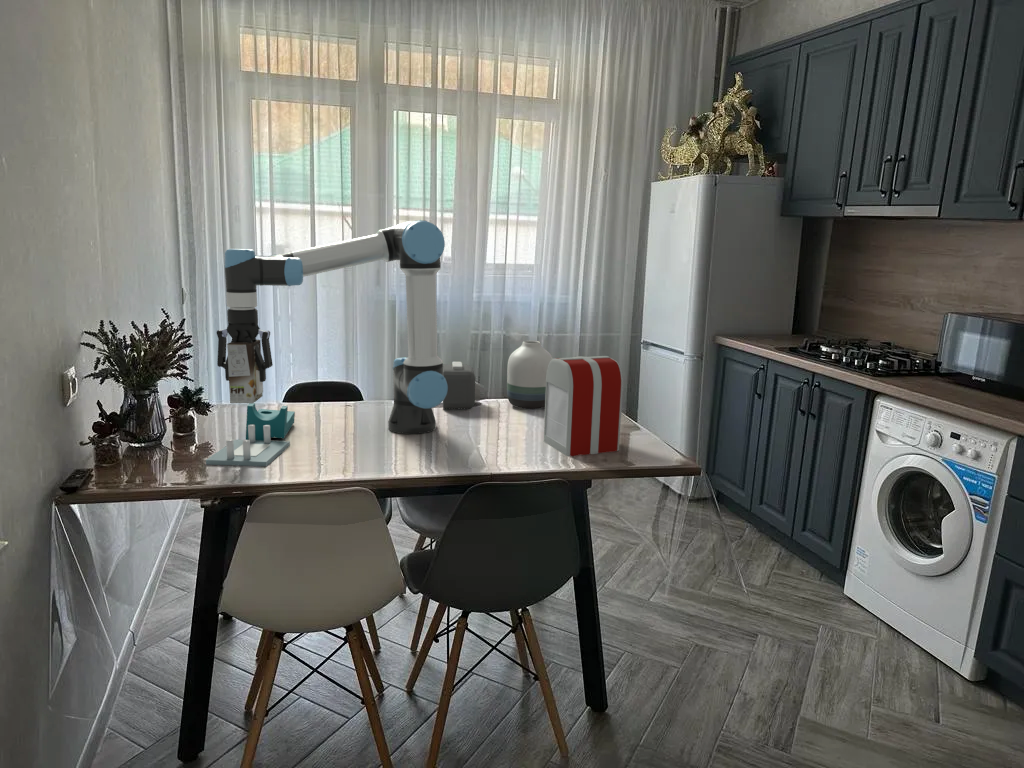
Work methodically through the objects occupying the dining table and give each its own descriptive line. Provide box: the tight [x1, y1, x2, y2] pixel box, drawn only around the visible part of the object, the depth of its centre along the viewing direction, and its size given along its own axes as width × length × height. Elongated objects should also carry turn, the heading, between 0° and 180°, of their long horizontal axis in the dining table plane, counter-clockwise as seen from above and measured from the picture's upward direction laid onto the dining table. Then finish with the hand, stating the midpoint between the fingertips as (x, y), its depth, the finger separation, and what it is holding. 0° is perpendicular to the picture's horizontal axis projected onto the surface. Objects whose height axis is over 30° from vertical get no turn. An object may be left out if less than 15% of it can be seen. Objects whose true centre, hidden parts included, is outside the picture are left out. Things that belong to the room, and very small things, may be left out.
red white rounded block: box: [543, 355, 624, 457], centre depth 207 cm, size 16×18×27 cm
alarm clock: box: [442, 361, 476, 410], centre depth 254 cm, size 16×11×16 cm
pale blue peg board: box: [205, 425, 291, 467], centre depth 193 cm, size 16×19×6 cm
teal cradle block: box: [245, 402, 296, 441], centre depth 214 cm, size 18×11×10 cm, turn 8°
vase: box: [506, 340, 554, 410], centre depth 255 cm, size 17×17×24 cm
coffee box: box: [226, 339, 264, 404], centre depth 189 cm, size 9×6×16 cm
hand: (246, 392), depth 190 cm, fingers closed on coffee box, 7 cm apart
